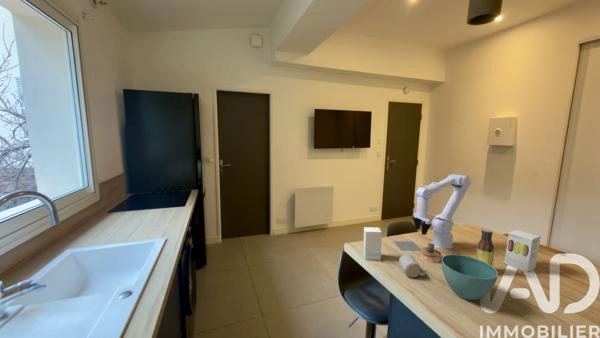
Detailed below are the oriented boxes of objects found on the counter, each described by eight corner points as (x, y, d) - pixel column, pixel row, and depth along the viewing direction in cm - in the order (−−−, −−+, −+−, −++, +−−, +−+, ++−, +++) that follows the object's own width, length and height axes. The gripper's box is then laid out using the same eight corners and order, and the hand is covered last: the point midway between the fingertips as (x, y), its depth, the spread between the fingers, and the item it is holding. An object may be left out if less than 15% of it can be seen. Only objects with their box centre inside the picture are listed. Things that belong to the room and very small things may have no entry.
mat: (412, 242, 143) (412, 241, 143) (422, 251, 131) (422, 250, 131) (393, 241, 143) (393, 241, 143) (401, 251, 131) (401, 250, 131)
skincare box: (378, 254, 126) (379, 227, 124) (381, 261, 119) (382, 232, 118) (362, 253, 127) (363, 226, 125) (364, 260, 120) (365, 231, 118)
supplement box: (503, 263, 119) (507, 231, 117) (511, 259, 124) (516, 229, 122) (528, 272, 111) (533, 239, 109) (536, 268, 115) (541, 235, 113)
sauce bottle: (494, 274, 109) (499, 234, 106) (479, 273, 110) (484, 232, 108) (486, 267, 115) (491, 228, 113) (472, 265, 116) (476, 227, 114)
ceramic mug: (404, 278, 105) (406, 262, 104) (397, 268, 113) (399, 253, 112) (428, 279, 104) (430, 263, 103) (420, 269, 113) (421, 254, 112)
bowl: (434, 254, 127) (434, 249, 127) (443, 263, 118) (444, 257, 118) (417, 254, 127) (418, 248, 127) (426, 262, 118) (426, 257, 118)
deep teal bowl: (470, 313, 84) (473, 282, 82) (429, 283, 101) (431, 257, 100) (505, 304, 89) (510, 274, 87) (461, 277, 106) (463, 252, 105)
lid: (435, 249, 127) (436, 240, 126) (444, 258, 117) (445, 249, 117) (417, 248, 128) (417, 239, 127) (424, 256, 118) (425, 247, 117)
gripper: (409, 205, 139) (407, 226, 141) (421, 212, 125) (419, 236, 126) (421, 205, 139) (419, 227, 141) (435, 212, 124) (432, 237, 126)
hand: (420, 231), depth 133 cm, fingers open, 7 cm apart
